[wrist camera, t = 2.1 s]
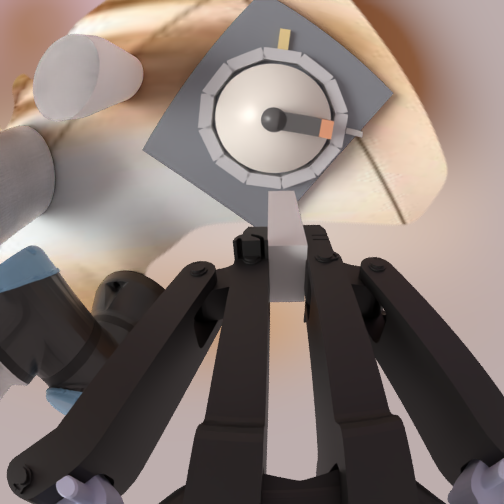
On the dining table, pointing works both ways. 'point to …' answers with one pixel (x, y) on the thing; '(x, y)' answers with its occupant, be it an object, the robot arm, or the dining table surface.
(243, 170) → the panel
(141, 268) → the dining table surface
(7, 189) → the planter
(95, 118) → the dining table surface
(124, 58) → the cup
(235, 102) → the dial
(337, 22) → the dining table surface
